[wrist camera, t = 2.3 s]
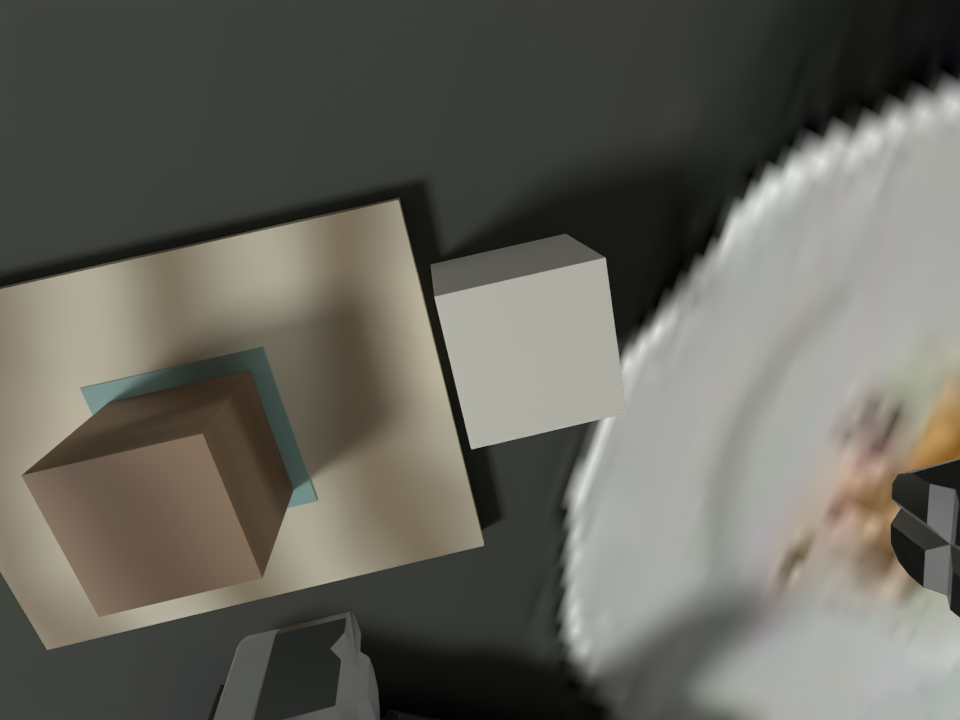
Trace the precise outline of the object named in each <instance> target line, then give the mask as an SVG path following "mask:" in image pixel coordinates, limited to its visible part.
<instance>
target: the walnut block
mask: <svg viewBox="0 0 960 720" xmlns="http://www.w3.org/2000/svg"><path fill="white" fill-rule="evenodd" d="M21 476H22V478H23V480H24V482H25V483H26V485H27V487H28V489H29V491H30V493H31V494H32V496H33V498H34V500H35V502H36V503H37V505H38V507H39V509H40V511H41V513H42V514H43V516H44V518H45V520H46V522H47V524H48V525H49V527H50V529H51V531H52V533H53V535H54V536H55V538H56V540H57V542H58V544H59V546H60V547H61V549H62V551H63V553H64V555H65V557H66V558H67V560H68V562H69V564H70V566H71V567H72V569H73V571H74V573H75V575H76V577H77V578H78V580H79V582H80V584H81V586H82V588H83V589H84V591H85V593H86V595H87V597H88V599H89V600H90V602H91V604H92V606H93V608H94V610H95V611H96V613H97V615H98V617H102V616H106V615H110V614H114V613H118V612H123V611H127V610H131V609H135V608H139V607H144V606H148V605H152V604H156V603H160V602H165V601H169V600H173V599H177V598H181V597H186V596H190V595H194V594H198V593H202V592H207V591H211V590H215V589H219V588H223V587H228V586H232V585H236V584H240V583H244V582H249V581H253V580H257V579H261V578H263V575H264V572H265V570H266V567H267V564H268V561H269V558H270V555H271V553H272V550H273V547H274V544H275V541H276V538H277V536H278V533H279V530H280V527H281V524H282V521H283V519H284V516H285V513H286V510H287V507H288V504H289V502H290V499H291V496H292V493H293V487H292V484H291V482H290V479H289V476H288V473H287V471H286V468H285V465H284V462H283V460H282V457H281V454H280V452H279V449H278V446H277V443H276V441H275V438H274V435H273V433H272V430H271V427H270V424H269V422H268V419H267V416H266V414H265V411H264V408H263V405H262V403H261V400H260V397H259V395H258V392H257V389H256V386H255V384H254V381H253V378H252V375H251V373H250V370H247V371H242V372H238V373H234V374H229V375H225V376H221V377H216V378H212V379H208V380H203V381H199V382H195V383H190V384H186V385H182V386H177V387H173V388H168V389H164V390H160V391H155V392H151V393H147V394H142V395H138V396H134V397H129V398H125V399H121V400H116V401H112V402H108V403H107V404H106V405H105V406H103V407H102V408H101V409H100V410H99V411H97V412H96V413H95V414H94V415H93V416H92V417H90V418H89V419H88V420H87V421H86V422H84V423H83V424H82V425H81V426H80V427H78V428H77V429H76V430H75V431H74V432H72V433H71V434H70V435H69V436H68V437H66V438H65V439H64V440H63V441H62V442H61V443H59V444H58V445H57V446H56V447H55V448H53V449H52V450H51V451H50V452H49V453H47V454H46V455H45V456H44V457H43V458H41V459H40V460H39V461H38V462H37V463H35V464H34V465H33V466H32V467H31V468H30V469H28V470H27V471H26V472H25V473H24V474H22V475H21Z"/></svg>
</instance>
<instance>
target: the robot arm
mask: <svg viewBox="0 0 960 720" xmlns="http://www.w3.org/2000/svg"><path fill="white" fill-rule="evenodd" d="M892 500H893V501H894V502H895V503H896V504H897V505H898V506H899V507H900V508H901V509H900V511H899V512H898V514H897V515H896V517H895V518H894V520H893V521H892V523H891V544H892V547H893V549H894V551H895V554H896V556H897V558H898V561H899V562H900V564H901V565H902V566H903V568H904V569H905V570H906V571H907V573H908V574H909V575H910V576H911V577H912V578H913V579H915V580H916V581H917V582H918V583H919V584H920V585H922V586H923V587H925V588H927V589H930V590H933V591H936V592H939V593H941V594H944V595H947V598H948V602H949V607H950V610H951V611H953V612H954V613H955V614H956V615H958V616H959V617H960V458H959V459H955V460H951V461H947V462H943V463H939V464H935V465H931V466H927V467H924V468H920V469H916V470H912V471H908V472H904V473H900V474H898V475H897V477H896V479H895V480H894V482H893V484H892ZM360 643H361V632H360V629H359V626H358V624H357V621H356V619H355V616H354V615H353V614H351V613H350V612H348V613H344V614H339V615H335V616H331V617H326V618H322V619H317V620H313V621H309V622H304V623H300V624H296V625H291V626H287V627H282V628H281V629H276V630H272V631H267V632H263V633H259V634H255V635H250V636H246V637H245V638H244V639H243V640H242V641H241V642H240V643H239V645H238V647H237V650H236V653H235V656H234V659H233V662H232V665H231V668H230V671H229V674H228V677H227V680H226V683H225V686H224V689H223V692H222V695H221V698H220V701H219V704H218V707H217V710H216V713H215V716H214V719H213V720H380V706H379V696H378V687H377V682H376V678H375V673H374V670H373V667H372V664H371V660H370V658H369V657H368V656H366V655H365V654H363V653H361V652H360Z"/></svg>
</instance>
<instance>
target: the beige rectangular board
mask: <svg viewBox="0 0 960 720" xmlns="http://www.w3.org/2000/svg"><path fill="white" fill-rule="evenodd" d="M247 370H250V373H251V375H252V378H253V381H254V384H255V386H256V389H257V392H258V395H259V397H260V400H261V403H262V405H263V408H264V411H265V414H266V416H267V419H268V422H269V424H270V427H271V430H272V433H273V435H274V438H275V441H276V443H277V446H278V449H279V452H280V454H281V457H282V460H283V462H284V465H285V468H286V471H287V473H288V476H289V479H290V482H291V484H292V487H293V493H292V496H291V499H290V502H289V504H288V507H287V510H286V513H285V516H284V519H283V521H282V524H281V527H280V530H279V533H278V536H277V538H276V541H275V544H274V547H273V550H272V553H271V555H270V558H269V561H268V564H267V567H266V570H265V572H264V575H263V578H261V579H257V580H253V581H249V582H244V583H240V584H236V585H232V586H228V587H223V588H219V589H215V590H211V591H207V592H202V593H198V594H194V595H190V596H186V597H181V598H177V599H173V600H169V601H165V602H160V603H156V604H152V605H148V606H144V607H139V608H135V609H131V610H127V611H123V612H118V613H114V614H110V615H106V616H102V617H98V615H97V613H96V611H95V610H94V608H93V606H92V604H91V602H90V600H89V599H88V597H87V595H86V593H85V591H84V589H83V588H82V586H81V584H80V582H79V580H78V578H77V577H76V575H75V573H74V571H73V569H72V567H71V566H70V564H69V562H68V560H67V558H66V557H65V555H64V553H63V551H62V549H61V547H60V546H59V544H58V542H57V540H56V538H55V536H54V535H53V533H52V531H51V529H50V527H49V525H48V524H47V522H46V520H45V518H44V516H43V514H42V513H41V511H40V509H39V507H38V505H37V503H36V502H35V500H34V498H33V496H32V494H31V493H30V491H29V489H28V487H27V485H26V483H25V482H24V480H23V478H22V476H21V475H22V474H24V473H25V472H26V471H27V470H28V469H30V468H31V467H32V466H33V465H34V464H35V463H37V462H38V461H39V460H40V459H41V458H43V457H44V456H45V455H46V454H47V453H49V452H50V451H51V450H52V449H53V448H55V447H56V446H57V445H58V444H59V443H61V442H62V441H63V440H64V439H65V438H66V437H68V436H69V435H70V434H71V433H72V432H74V431H75V430H76V429H77V428H78V427H80V426H81V425H82V424H83V423H84V422H86V421H87V420H88V419H89V418H90V417H92V416H93V415H94V414H95V413H96V412H97V411H99V410H100V409H101V408H102V407H103V406H105V405H106V404H107V403H108V402H112V401H116V400H121V399H125V398H129V397H134V396H138V395H142V394H147V393H151V392H155V391H160V390H164V389H168V388H173V387H177V386H182V385H186V384H190V383H195V382H199V381H203V380H208V379H212V378H216V377H221V376H225V375H229V374H234V373H238V372H242V371H247ZM480 546H484V540H483V535H482V529H481V525H480V521H479V517H478V513H477V509H476V505H475V501H474V497H473V493H472V489H471V485H470V481H469V477H468V473H467V469H466V465H465V461H464V457H463V453H462V449H461V445H460V441H459V436H458V432H457V428H456V424H455V420H454V416H453V412H452V408H451V404H450V400H449V396H448V392H447V388H446V384H445V380H444V376H443V372H442V368H441V364H440V360H439V356H438V352H437V348H436V344H435V339H434V335H433V331H432V327H431V323H430V319H429V315H428V311H427V307H426V303H425V299H424V295H423V291H422V287H421V283H420V279H419V275H418V271H417V267H416V263H415V259H414V255H413V251H412V247H411V243H410V238H409V234H408V230H407V226H406V222H405V218H404V214H403V210H402V206H401V202H400V198H394V199H390V200H385V201H381V202H377V203H372V204H368V205H363V206H359V207H354V208H350V209H345V210H341V211H336V212H332V213H327V214H323V215H319V216H314V217H310V218H305V219H301V220H296V221H292V222H287V223H283V224H278V225H274V226H269V227H265V228H261V229H256V230H252V231H247V232H243V233H238V234H234V235H229V236H225V237H220V238H216V239H212V240H207V241H203V242H198V243H194V244H189V245H185V246H180V247H176V248H171V249H167V250H162V251H158V252H154V253H149V254H145V255H140V256H136V257H131V258H127V259H122V260H118V261H113V262H109V263H104V264H100V265H96V266H91V267H87V268H82V269H78V270H73V271H69V272H64V273H60V274H55V275H51V276H47V277H42V278H38V279H33V280H29V281H24V282H20V283H15V284H11V285H6V286H2V287H0V572H1V574H2V575H3V577H4V579H5V580H6V582H7V584H8V585H9V587H10V589H11V590H12V592H13V594H14V595H15V597H16V599H17V600H18V602H19V604H20V605H21V607H22V609H23V610H24V612H25V614H26V615H27V617H28V619H29V620H30V622H31V624H32V625H33V627H34V629H35V630H36V632H37V634H38V635H39V637H40V639H41V640H42V642H43V644H44V645H45V647H46V649H47V650H49V649H53V648H57V647H61V646H65V645H70V644H74V643H78V642H82V641H86V640H91V639H95V638H99V637H103V636H107V635H112V634H116V633H120V632H124V631H128V630H132V629H137V628H141V627H145V626H149V625H153V624H158V623H162V622H166V621H170V620H174V619H179V618H183V617H187V616H191V615H195V614H200V613H204V612H208V611H212V610H216V609H220V608H225V607H229V606H233V605H237V604H241V603H246V602H250V601H254V600H258V599H262V598H267V597H271V596H275V595H279V594H283V593H287V592H292V591H296V590H300V589H304V588H308V587H313V586H317V585H321V584H325V583H329V582H334V581H338V580H342V579H346V578H350V577H354V576H359V575H363V574H367V573H371V572H375V571H380V570H384V569H388V568H392V567H396V566H401V565H405V564H409V563H413V562H417V561H421V560H426V559H430V558H434V557H438V556H442V555H447V554H451V553H455V552H459V551H463V550H468V549H472V548H476V547H480Z"/></svg>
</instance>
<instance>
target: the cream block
mask: <svg viewBox="0 0 960 720" xmlns="http://www.w3.org/2000/svg"><path fill="white" fill-rule="evenodd" d="M430 266H431V274H432V282H433V291H434V298H435V302H436V306H437V310H438V314H439V318H440V323H441V327H442V331H443V335H444V339H445V343H446V347H447V352H448V356H449V360H450V364H451V368H452V372H453V376H454V381H455V385H456V389H457V393H458V397H459V401H460V405H461V410H462V414H463V418H464V422H465V426H466V430H467V434H468V438H469V443H470V447H471V449H476V448H480V447H484V446H488V445H493V444H497V443H501V442H505V441H510V440H514V439H518V438H522V437H527V436H531V435H535V434H540V433H544V432H548V431H552V430H557V429H561V428H565V427H569V426H574V425H578V424H582V423H586V422H591V421H595V420H599V419H603V418H608V417H612V416H616V415H620V414H625V413H627V412H626V404H625V397H624V390H623V382H622V375H621V368H620V360H619V353H618V346H617V338H616V331H615V323H614V316H613V309H612V301H611V294H610V287H609V279H608V272H607V265H606V258H605V257H604V256H602V255H600V254H599V253H597V252H595V251H594V250H592V249H590V248H589V247H587V246H585V245H584V244H582V243H580V242H579V241H577V240H575V239H574V238H572V237H570V236H569V235H567V234H562V235H558V236H553V237H549V238H545V239H540V240H536V241H531V242H527V243H523V244H518V245H514V246H509V247H505V248H501V249H496V250H492V251H487V252H483V253H479V254H474V255H470V256H466V257H461V258H457V259H452V260H448V261H444V262H439V263H435V264H430Z"/></svg>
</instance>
